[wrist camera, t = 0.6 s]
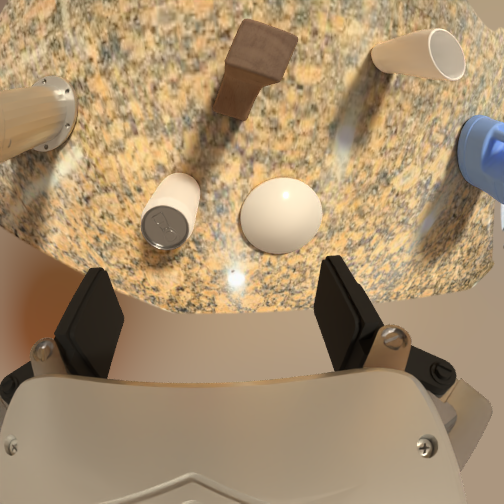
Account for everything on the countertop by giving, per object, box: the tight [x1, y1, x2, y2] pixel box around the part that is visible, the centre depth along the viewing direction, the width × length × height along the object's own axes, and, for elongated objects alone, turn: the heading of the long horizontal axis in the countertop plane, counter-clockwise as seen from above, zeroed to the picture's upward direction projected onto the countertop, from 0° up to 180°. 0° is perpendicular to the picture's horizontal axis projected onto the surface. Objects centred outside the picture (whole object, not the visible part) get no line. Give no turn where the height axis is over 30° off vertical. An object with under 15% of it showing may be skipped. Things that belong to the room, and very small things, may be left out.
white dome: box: [240, 177, 322, 254], centre depth 43 cm, size 13×13×1 cm
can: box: [141, 173, 200, 250], centre depth 34 cm, size 6×6×12 cm
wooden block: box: [213, 19, 298, 121], centre depth 24 cm, size 9×4×18 cm, turn 160°
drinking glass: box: [371, 28, 466, 81], centre depth 23 cm, size 7×7×15 cm
